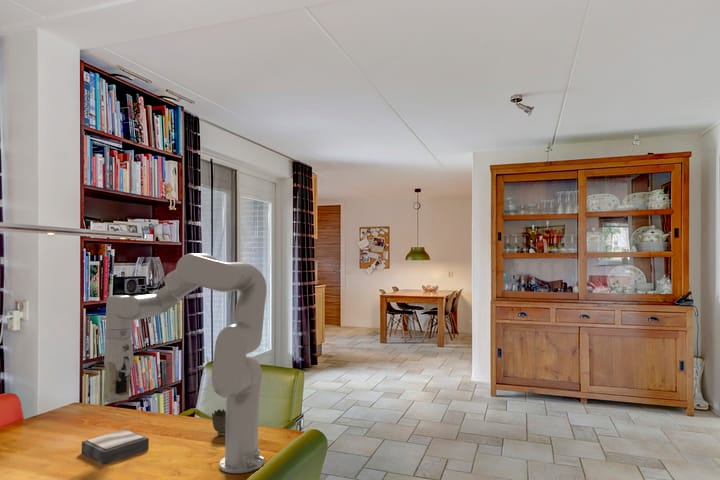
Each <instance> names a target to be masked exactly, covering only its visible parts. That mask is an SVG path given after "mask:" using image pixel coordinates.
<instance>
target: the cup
mask: <svg viewBox="0 0 720 480" xmlns="http://www.w3.org/2000/svg"><path fill="white" fill-rule="evenodd" d="M211 417H212V419H211V420H212V426H213V429H214V430H215V432H217V433H216V435H217V436H218V437H225V429H226V410H225V409H222V410H221V409H218V410H214V413H213V412H212V413H211Z"/></svg>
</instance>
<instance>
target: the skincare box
mask: <svg viewBox="0 0 720 480" xmlns="http://www.w3.org/2000/svg"><path fill="white" fill-rule="evenodd" d="M104 368H105V369H104V385H103V402H106V403H108V404H112V403H117V402H121V401H127V400H129V398H130V397H129V396H130V383H131V382H130V379H131V377H130V376H131V373H130V374H129V375H128V379H127V391H126V392H125V393H120V394H116V381H118V380H117V371H115V370H114V364H113V363H110V362H106V367H105V366H104ZM121 370H124V368H121ZM122 373H124V372H120V375H121V374H122Z"/></svg>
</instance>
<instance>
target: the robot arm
mask: <svg viewBox="0 0 720 480" xmlns="http://www.w3.org/2000/svg"><path fill="white" fill-rule="evenodd" d="M201 287H202V288H205V289H208V290H213V291H216V292H221V293H229V292H236V291H237V292H238V291H239V296H238V299H237V302H236V305H235V309H234V310H235V311H234V319H233V323H232V324H229V325H227V326H225V327H224V328H222V329H221V330H220V332H219V333H218V334H217V336H216V340H215V345H214V352H213V361H212V368H211V385H212V388H213V390H214V392H215V393H216V394H217V395H218V396H219V397H222V398H225V399H226V403H225V411H226V429H225V436H224V437H225V439H224V442H225V446H224V457H223V458H222V459H220V461H219V465H218V466H219V469H220V470H221V471H223V472H225V473H227V474H228V473H229V474H244V473H249V472H253V471H256V470H258V469H259V468H261V467H262V466H263V464H264V463H265V461H266V457H264V456H262V455H261V449H259V414H260V413H259V411H260V407H259V406H260V393H261V391H260V390H261V384H262V376H263V375H262V374H263V371H262V367H261V364H260V362H259V361H258V360H257V359H256V358H254V357H253V356H249V355H248V354H250V353H253V352H254V351H256V350H257V349H259V348H260V346H261V343H262V338H263V328H264V319H265V309H266V308H265V307H266V300H267V299H266V298H267V290H268V289H267V282H266V279H265V276H264V274H263V273H262V272H261V271H260V270H259V269H258V267H256V266H255V265H252V264H249V263H247V262H240V261H239V262H238V261H236V262H226V261H219V260H218V259H217V258H216V257H215V256H214V255H212V254H209V253H194V252H191V253H186V254H184V255H183V256H181V257H180V258H179V259H178V261H177V262H176V267H175V269H174V270H172V271H170V272H169V273H167V274H166V275H165V277H164V286H163V287H161V288H159V289H158V290H156V291H154V292H152V293H149V294H148V293H146V294H140V295H139V294H138V295H129V294H128V295H125V294H119V295H118V294H115V295H110V296H108V297H107V298H106V303H105V304H106V306H105V309H106V310H105V334H104V337H105V338H104V339H105V345H104V354H103V355H104V359H103V364H104V368H105V367H106V362H110V363H113V364H114V370H115V371H117V380H118V381H116V394H120V393H125V392H126V391H127V379H128V375H129V374H130V375H131V373H132V370H133V369H134V347H133V340H132V331H133V328H132V327H133V326H132V325H133V321H136V320H143V319H148V318H153V317H157V316H160V315H161V314H163V313H165V312H167V311H168V310H170V309H172V308H173V307H175V306H176V305H178V303H180V302H181V300H182V299H183V297H185V296H186V295H188V294H190V293H192V292H193V291H195V290H197V289H198V288H201ZM121 368H124V370H121ZM120 372H124V373H122V374H121V375H120Z"/></svg>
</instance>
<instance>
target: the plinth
mask: <svg viewBox="0 0 720 480" xmlns="http://www.w3.org/2000/svg"><path fill="white" fill-rule="evenodd" d="M149 442H150V441H149V437H148V436H144V435H141V434H139V433H136V432H134V431H132V430H129V429H126V428H125V429H121V430H118V431H117V430H116V431H114V432H110V433H108V434H103V435H99V436H97V437H93V438H90V439H89V438H88V439H85V440H83V441H81V454H82V455H84V456H86V457H88V458H90V459H92V460H94V461H96V462H98V463H99V464H102V465H103V466H104V465H107V464H111V463H112V462H116V461H118V460H121V459H125V458H127V457H131V456H134V455H136V454H140V453H143V452H145V451H148V450H149V445H150V443H149Z"/></svg>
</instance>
